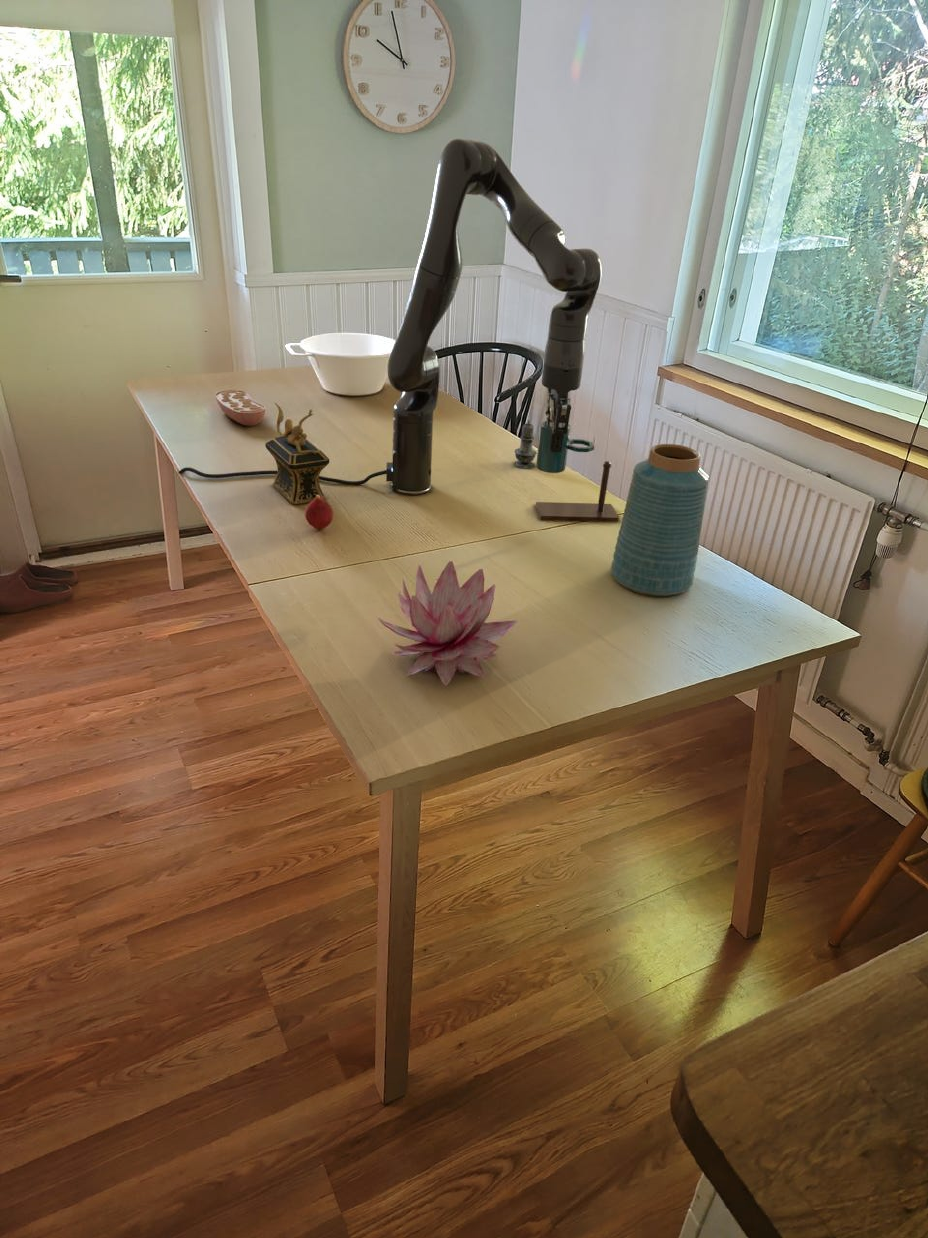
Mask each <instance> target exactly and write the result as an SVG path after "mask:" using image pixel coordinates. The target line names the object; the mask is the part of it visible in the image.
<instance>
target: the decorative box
mask: <svg viewBox="0 0 928 1238" xmlns="http://www.w3.org/2000/svg"><path fill="white" fill-rule="evenodd" d="M274 404H275V406H276V407H277V409H278V415H277V419H276V424H275V425H276V431H277V433H278V434H277V435H279V436H275V437H272V438H271V439H269V440H268V441H266V442H265V444H264V447H265V449H266V450H267V451H268V452H269V454H270V455H271V456H272V457H273V458H274V461H275V463H276V469H277V470H276V471H277V474H276V476H275V478H274V481H273V483H272V486H273V488H275V489H276V490H277V492H279V493H280V494H281V495H282V496H283V497H284V498H285V499H286V500H287V501H288V502H290V503H291V504H294V505H299V504H306V503H310V502H311V501H313V500H314V499H315V498H316V495H319V496H320V497H321V498H322V499H324V500H325V498H326V496H325V494H324V492H323V490H322V488H321V486H320V480H319V476H320V475H321V472H322V471H323V470H324V469H325V468H326V467H327V466H328V465H329V464H330V458H329V457H328V455H326V454H325V453H324V452H323V451H322V450H321V449H320V448H319V447H318V446H316V445H315V444H314V443H312V442H311V441H310V440H309V439H307V438H308V436H307V434H306V433H304V429H303V428H302V425H303V423H304V422H305V421H306V420H307V419H308V418H310V417H312V416H314V413H313V409H309V411H308V415H306V416H303V417H302V418H301V419H300V420H299V422H298V423H297V425H294V426H293V420H292V419H291V418H287V419H286V420H285V422H284V416H285V414H284V412H283V409H282V408H281V406H280V405H278V403H276V402H274ZM282 422H284V433H282V432H281V423H282Z"/></svg>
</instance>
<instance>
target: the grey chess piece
mask: <svg viewBox="0 0 928 1238" xmlns="http://www.w3.org/2000/svg"><path fill="white" fill-rule="evenodd" d="M530 422H531V421H530V420H529V419H528V420H527V421H526V423H524V424H523V425H522V427H521V435H520V436H519V439H520V445H519V447H518V448H515V449H514V455H515V459H516V460H517V461H515V462H514V463H513V464H514V466H515V467H516V468H519V469H525V470H526V469H533V468H534V467H535V464H534V463H533V461H534V460H535V458H536V456H537V453H538V451H536V450H535V449H533V441H534V439H535V437H534V428H535V427H534V425H533V424H532V423H530Z"/></svg>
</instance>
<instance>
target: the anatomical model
mask: <svg viewBox="0 0 928 1238" xmlns="http://www.w3.org/2000/svg"><path fill="white" fill-rule="evenodd" d="M214 397H215V400H216V402H217V404H218V406H219V408H220V409H221V410H222V412H223V413H224V414H225V415H226V416H227V417H229V418H230V419H232V420H233V421H234V422H237V423H238V424H240V425H243V426H246V427H253V426H256V425H258V424H259V423H261V422H262V421H263V419H264V417H265V415H266V406H265V405H263V404H261V403H259V402H257V401H256V400H254V399H253V397H251V396H250V395H249V394H248V392H247V391H244V390H241V389H225V390H224V389H223V390H219V391H217V392H216V393H215V395H214Z"/></svg>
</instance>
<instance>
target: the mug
mask: <svg viewBox="0 0 928 1238" xmlns="http://www.w3.org/2000/svg"><path fill="white" fill-rule="evenodd" d="M558 427H562V423H559V424H558ZM571 427H572V426H571V425H570V424H569V423H568V432H567V434H564V436H563V444H562V451H561V452H551V450H550V446H551V438H552V422H551V421H547V420H544V421H541V423H540V427H539V434H538V435H539V437H538V445H537V454H536V463H535V467H536V469H537V470H538V471H541V472H544V473H548V474H559V473H563V472H564V471H566V466H567V459H568V450H570V451H573V452H577V453H589V452H592V451H594V450H595V444H594V442H592V441H590V440H587V439H583V438H571V439H570V436H571V435H570V434H571V429H572V428H571ZM576 445H584V446H576Z"/></svg>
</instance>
